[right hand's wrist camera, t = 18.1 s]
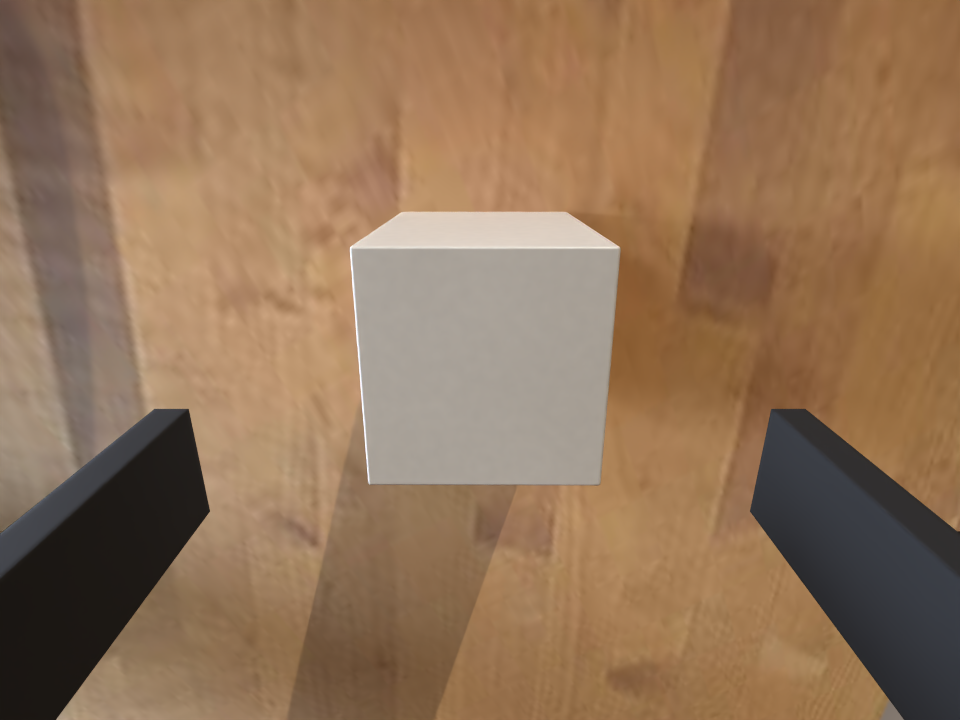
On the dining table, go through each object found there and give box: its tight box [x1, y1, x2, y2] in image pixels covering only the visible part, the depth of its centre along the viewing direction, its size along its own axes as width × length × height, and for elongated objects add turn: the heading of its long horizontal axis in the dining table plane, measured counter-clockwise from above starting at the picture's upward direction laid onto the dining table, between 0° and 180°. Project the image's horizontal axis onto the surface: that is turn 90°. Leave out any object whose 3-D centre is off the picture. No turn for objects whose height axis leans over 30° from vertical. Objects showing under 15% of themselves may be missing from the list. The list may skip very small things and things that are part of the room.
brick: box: [350, 212, 621, 485], centre depth 24 cm, size 9×8×12 cm
